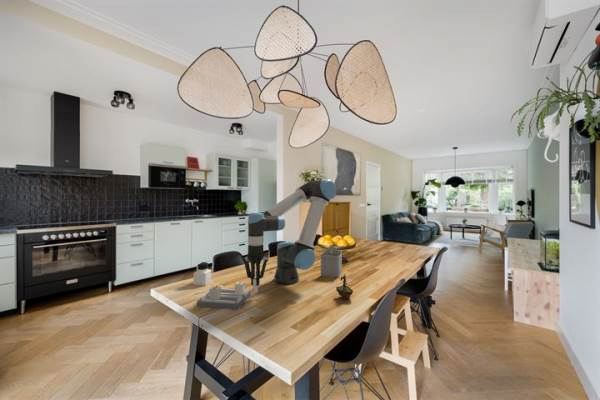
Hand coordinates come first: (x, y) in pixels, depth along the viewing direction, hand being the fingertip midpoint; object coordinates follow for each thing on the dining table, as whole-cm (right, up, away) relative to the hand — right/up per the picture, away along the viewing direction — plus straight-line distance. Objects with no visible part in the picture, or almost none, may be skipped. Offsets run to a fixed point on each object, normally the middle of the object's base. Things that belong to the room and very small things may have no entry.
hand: (255, 291), depth 118 cm
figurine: (+44, -4, +2) cm, 45 cm away
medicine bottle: (-35, -3, +21) cm, 40 cm away
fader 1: (-18, -1, -6) cm, 19 cm away
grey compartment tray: (-14, -3, -2) cm, 15 cm away
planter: (+44, -4, +36) cm, 58 cm away
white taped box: (-8, -1, +1) cm, 8 cm away
